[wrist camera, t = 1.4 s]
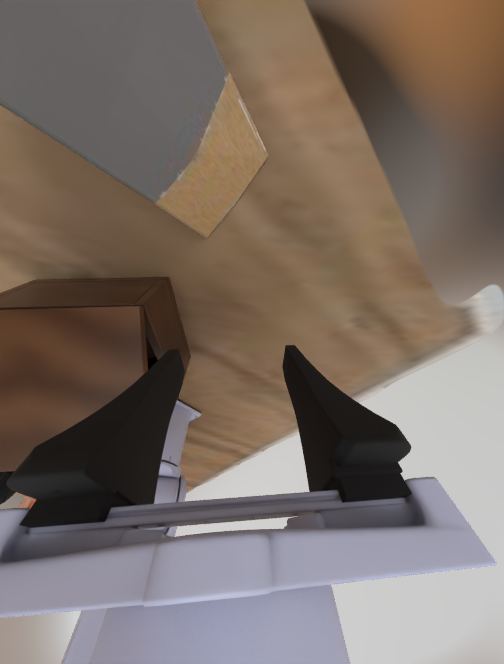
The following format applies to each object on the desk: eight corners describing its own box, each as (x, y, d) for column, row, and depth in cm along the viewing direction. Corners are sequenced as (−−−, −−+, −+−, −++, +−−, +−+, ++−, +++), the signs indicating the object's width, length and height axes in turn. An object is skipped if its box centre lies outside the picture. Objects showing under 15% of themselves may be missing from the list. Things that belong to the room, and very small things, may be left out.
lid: (154, 455, 15) (150, 462, 14) (-23, 467, 14) (-36, 474, 14) (143, 306, 14) (138, 305, 13) (-44, 311, 13) (-59, 311, 13)
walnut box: (190, 356, 26) (179, 394, 21) (92, 360, 25) (55, 401, 20) (169, 276, 19) (143, 303, 14) (34, 279, 19) (-44, 309, 13)
